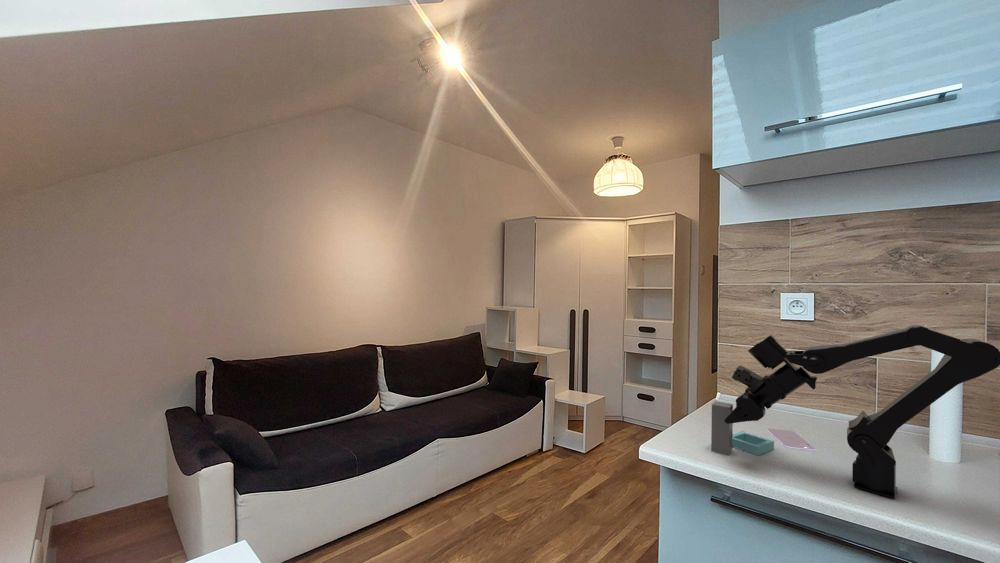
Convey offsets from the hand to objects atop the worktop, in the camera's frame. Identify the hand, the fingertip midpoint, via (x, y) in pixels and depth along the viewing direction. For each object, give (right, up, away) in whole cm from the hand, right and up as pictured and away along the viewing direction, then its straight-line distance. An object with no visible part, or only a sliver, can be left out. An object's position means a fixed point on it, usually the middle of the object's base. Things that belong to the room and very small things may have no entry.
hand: (729, 417), depth 108 cm
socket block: (+8, -9, +4) cm, 13 cm away
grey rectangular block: (-1, -9, +1) cm, 9 cm away
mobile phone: (+23, -10, +10) cm, 27 cm away
